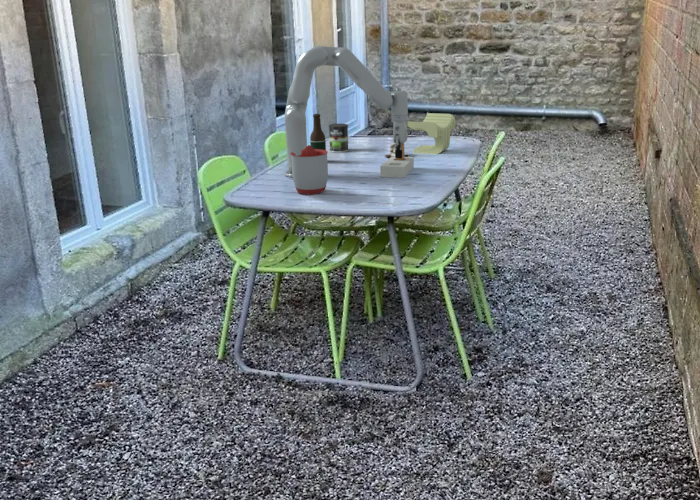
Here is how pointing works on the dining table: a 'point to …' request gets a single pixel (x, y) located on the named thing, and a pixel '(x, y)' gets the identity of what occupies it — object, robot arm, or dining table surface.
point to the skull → (393, 151)
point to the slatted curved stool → (435, 131)
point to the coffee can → (338, 137)
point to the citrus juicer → (310, 170)
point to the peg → (402, 153)
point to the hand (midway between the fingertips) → (399, 156)
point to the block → (397, 167)
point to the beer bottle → (317, 135)
